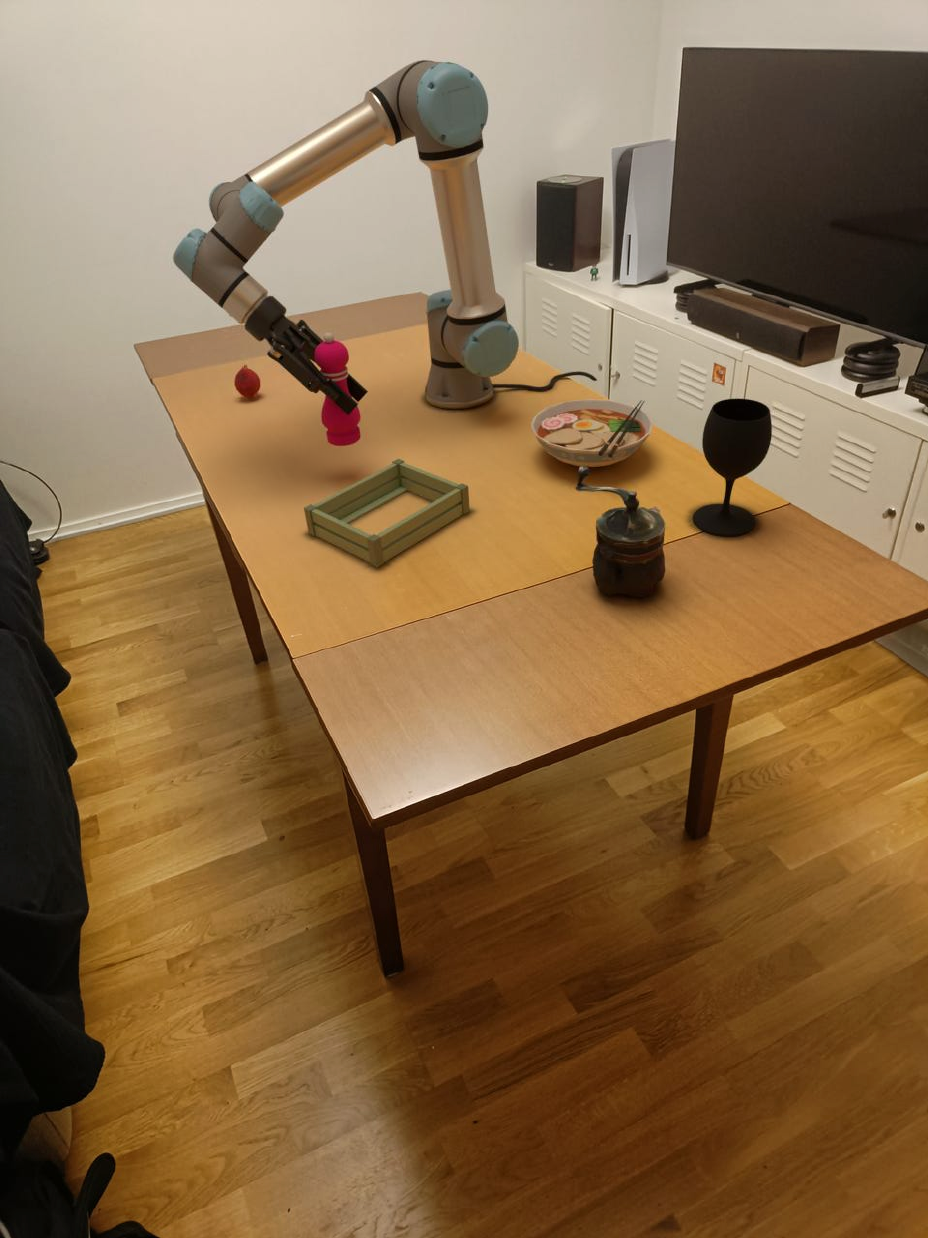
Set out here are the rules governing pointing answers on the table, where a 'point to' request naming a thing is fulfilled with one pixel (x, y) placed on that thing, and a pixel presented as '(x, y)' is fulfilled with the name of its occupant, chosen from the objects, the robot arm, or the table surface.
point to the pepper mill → (333, 367)
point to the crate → (376, 490)
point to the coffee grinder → (627, 545)
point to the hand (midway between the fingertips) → (358, 402)
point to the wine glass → (733, 459)
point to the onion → (247, 382)
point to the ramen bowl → (591, 431)
